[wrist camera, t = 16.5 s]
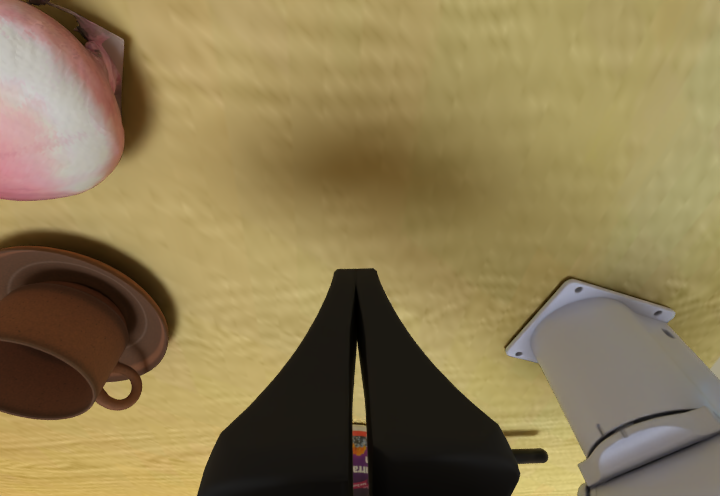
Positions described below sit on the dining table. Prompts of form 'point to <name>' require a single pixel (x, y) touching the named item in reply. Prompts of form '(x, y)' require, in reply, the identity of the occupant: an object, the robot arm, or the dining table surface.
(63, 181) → the onion
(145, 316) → the cup and saucer
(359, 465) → the pill bottle
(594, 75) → the dining table surface
